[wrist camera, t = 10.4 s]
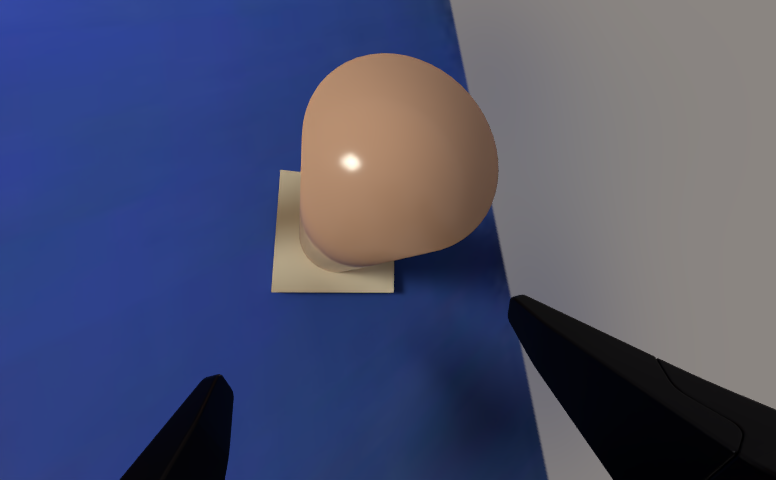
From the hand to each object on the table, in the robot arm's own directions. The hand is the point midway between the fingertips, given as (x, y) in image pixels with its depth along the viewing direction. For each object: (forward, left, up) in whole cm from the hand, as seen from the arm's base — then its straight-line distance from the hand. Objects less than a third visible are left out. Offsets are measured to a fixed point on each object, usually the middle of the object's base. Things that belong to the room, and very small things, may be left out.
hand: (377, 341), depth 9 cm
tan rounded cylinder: (+4, -3, -10) cm, 12 cm away
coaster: (+4, -3, -11) cm, 12 cm away
